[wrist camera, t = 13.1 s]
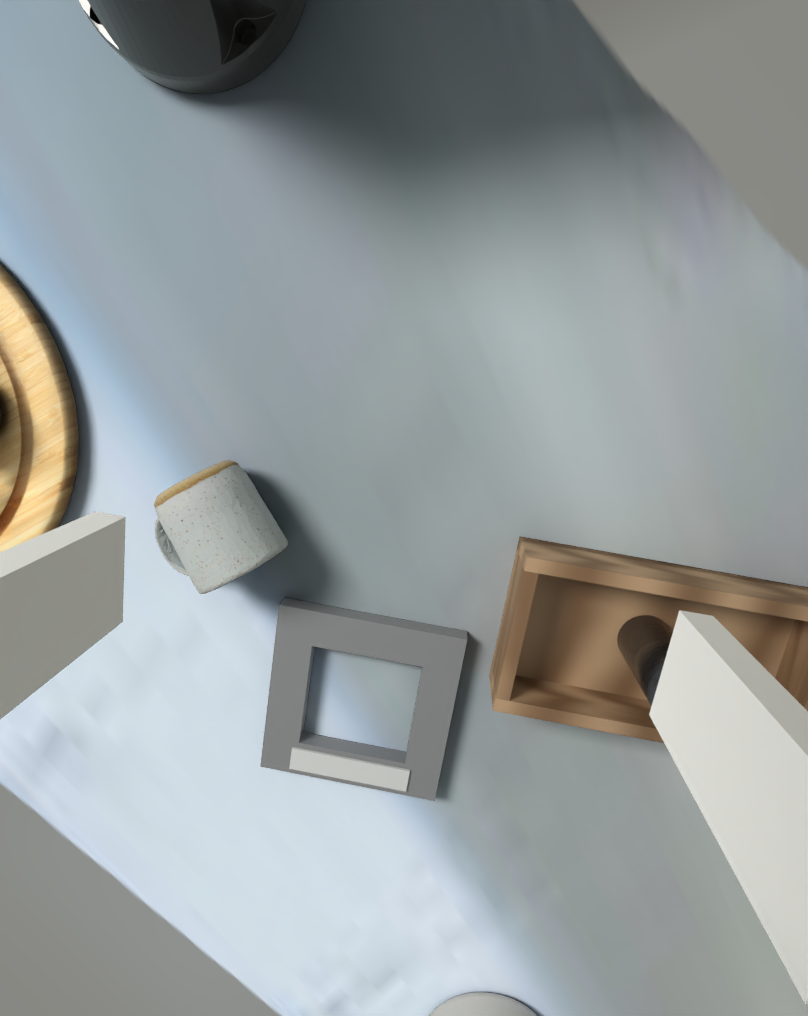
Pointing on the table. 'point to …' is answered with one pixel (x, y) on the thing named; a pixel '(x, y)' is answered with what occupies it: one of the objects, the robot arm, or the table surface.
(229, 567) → the ceramic mug
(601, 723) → the walnut trough
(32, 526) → the wooden plate with food
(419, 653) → the grey flat square frame
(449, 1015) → the cylinder vase
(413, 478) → the table surface
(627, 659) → the battery cell
